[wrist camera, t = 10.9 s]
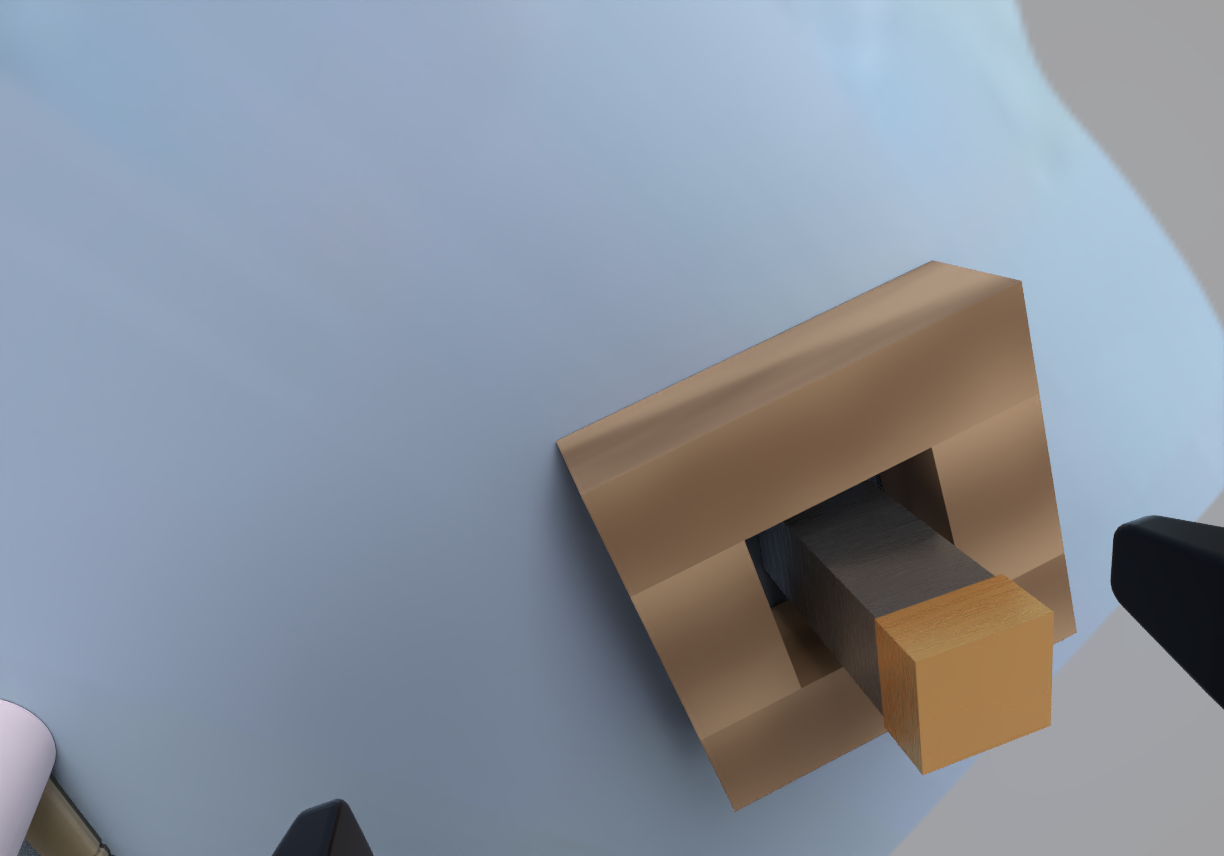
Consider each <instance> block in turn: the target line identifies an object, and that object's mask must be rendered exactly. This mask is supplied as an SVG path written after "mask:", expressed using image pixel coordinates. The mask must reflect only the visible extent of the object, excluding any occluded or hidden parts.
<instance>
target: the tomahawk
mask: <svg viewBox="0 0 1224 856" xmlns="http://www.w3.org/2000/svg"><path fill="white" fill-rule="evenodd" d="M25 839H26V840H27V841H28V842H29V844H30V845H31V846H32V847H33V848H34V849H35V850H36V851H37V852H38V853H39V855H40V856H114V855H111V854H110V850H109V848H108V847H107V846H106V844H102V843H101V838H100V837H99V836H98V834H97V833H96V832H95V831H94V829H93V828H92V827H91V825H90V824H89V823H88V821H87V820H86V819H85V818H84V816H83V815H82V814H81V812H80V811H79V810H78V808H77V807H76V806H75V805H74V803H73V802H72V801H71V799H70V798H69V797H68V795H67V794H66V793H65V792H64V790H63V789H62V788H61V786H60V785H59V784H58V782H57V781H56V780H55V779H54V777H53V776H52V775H51V773H50V776H49V778H48V781H47V783H46V786H45V788H44V791H43V793H42V796H41V798H40V801H39V803H38V806H37V808H36V811H35V813H34V816H33V818H32V821H31V823H30V826H29V828H28V831H27V833H26V836H25Z"/></svg>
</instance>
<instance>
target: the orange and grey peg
mask: <svg viewBox="0 0 1224 856" xmlns="http://www.w3.org/2000/svg"><path fill="white" fill-rule="evenodd" d="M758 535H759V541H760V547H761V554H762V560H763V566H764V569H765V570H766V572H767V573H768V574H769V575H770V577H771V578H772V579H773V580H774V582H775V583H776V584H777V585H778V587H779V588H780V589H781V590H782V591H783V593H784V594H785V595H786V596H787V598H788V599H789V600H790V601H791V603H792V604H793V605H794V606H795V608H796V609H797V610H798V611H799V613H800V614H801V615H802V616H803V618H804V619H805V620H806V621H807V623H808V624H809V625H810V626H811V627H812V629H813V630H814V631H815V632H816V634H817V635H818V636H819V637H820V639H821V640H822V641H823V642H824V644H825V645H826V646H827V647H828V649H829V650H830V651H831V652H832V654H833V655H834V656H835V657H836V658H837V660H838V661H839V662H840V663H841V665H842V666H843V667H844V668H845V670H846V671H847V672H848V673H849V675H850V676H851V677H852V678H853V680H854V681H855V682H856V683H857V685H858V686H859V687H860V688H861V689H862V691H863V692H864V693H865V694H866V696H867V697H868V698H869V699H870V701H871V702H872V703H873V704H874V706H875V707H876V708H877V709H878V711H879V712H880V713H881V714H882V716H883V721H884V727H885V728H886V729H887V731H888V732H889V733H890V734H891V736H892V737H893V738H894V740H895V741H896V742H897V743H898V745H899V746H900V747H901V748H902V750H903V751H904V752H905V753H906V755H907V756H908V757H909V758H910V760H911V761H912V762H913V763H914V765H915V766H916V767H917V768H918V770H919V771H920V772H921V774H922V775H924V774H927V773H930V772H932V771H935V770H937V769H940V768H942V767H945V766H948V765H950V764H953V763H955V762H958V761H961V760H963V759H966V758H968V757H971V756H974V755H976V754H979V753H981V752H984V751H986V750H989V749H992V748H994V747H997V746H999V745H1002V744H1005V743H1007V742H1010V741H1012V740H1015V739H1017V738H1020V737H1022V736H1025V735H1028V734H1030V733H1033V732H1036V731H1038V730H1041V729H1043V728H1046V727H1048V726H1050V724H1051V723H1050V721H1051V688H1052V655H1053V621H1054V612H1053V611H1052V610H1051V609H1049V608H1048V607H1047V606H1045V605H1044V604H1043V603H1041V602H1040V601H1038V600H1037V599H1036V598H1034V597H1033V596H1032V595H1030V594H1029V593H1028V592H1026V591H1025V590H1024V589H1022V588H1021V587H1020V586H1018V585H1017V584H1015V583H1014V582H1013V581H1011V580H1010V579H1009V578H1007V577H1006V576H1005V575H1003V574H1001V575H998V576H994V575H993V574H991V573H990V572H989V571H988V570H986V569H985V568H984V567H982V566H981V565H980V564H978V563H977V562H976V561H974V560H973V559H972V558H970V557H969V556H968V555H966V554H965V553H964V552H962V551H961V550H960V549H958V548H957V547H956V546H954V545H953V544H952V543H950V542H949V541H948V540H946V539H945V538H944V537H942V536H941V535H940V534H938V533H937V532H936V531H934V530H933V529H932V528H930V527H929V526H928V525H927V524H925V523H924V522H923V521H921V520H920V519H919V518H917V517H916V516H915V515H913V514H912V513H911V512H909V511H908V510H907V509H905V508H904V507H903V506H901V505H900V504H899V503H897V502H896V501H895V500H893V499H892V498H891V497H889V496H888V495H887V494H885V493H884V492H883V491H881V490H880V489H879V488H877V487H876V486H875V485H873V484H872V483H871V482H869V481H868V480H865V481H863V482H861V483H859V484H857V485H855V486H853V487H851V488H849V489H847V490H845V491H843V492H841V493H839V494H837V495H835V496H833V497H831V498H829V499H827V500H825V501H823V502H821V503H819V504H817V505H815V506H813V507H811V508H809V509H807V510H805V511H803V512H801V513H799V514H797V515H795V516H793V517H791V518H788V519H786V520H784V521H782V522H780V523H778V524H776V525H774V526H772V527H770V528H768V529H766V530H764V531H762V532H760V533H758Z"/></svg>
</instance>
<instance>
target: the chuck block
mask: <svg viewBox="0 0 1224 856" xmlns="http://www.w3.org/2000/svg"><path fill="white" fill-rule="evenodd" d="M556 442H557V444H558V447H559V449H560V451H561V453H562V455H563V458H564V460H565V462H566V464H567V466H568V469H569V471H570V473H571V475H572V477H573V480H574V482H575V484H576V486H577V488H578V491H579V493H580V495H581V497H582V499H583V501H584V503H585V505H586V507H587V509H588V512H589V514H590V516H591V518H592V520H593V522H594V524H595V526H596V528H597V530H598V532H599V534H600V536H601V538H602V540H603V542H604V544H605V546H606V548H607V550H608V553H609V555H610V557H611V559H612V561H613V563H614V565H615V567H616V569H617V571H618V573H619V575H620V577H621V579H622V581H623V583H624V585H625V587H626V589H627V591H628V594H629V596H630V598H631V600H632V602H633V604H634V606H635V608H636V610H637V612H638V614H639V616H640V618H641V620H642V622H643V624H644V626H645V628H646V630H647V632H648V635H649V637H650V639H651V641H652V643H653V645H654V647H655V649H656V651H657V653H658V655H659V657H660V659H661V661H662V663H663V665H664V667H665V669H666V671H667V674H668V676H669V678H670V680H671V682H672V684H673V686H674V688H675V690H676V692H677V694H678V696H679V698H680V700H681V702H682V704H683V706H684V708H685V710H686V712H687V715H688V717H689V719H690V721H691V723H692V725H693V727H694V729H695V731H696V733H697V735H698V737H699V739H700V741H701V743H702V745H703V747H704V749H705V751H706V753H707V756H708V758H709V760H710V762H711V764H712V766H713V768H714V770H715V772H716V774H717V776H718V778H719V780H720V782H721V784H722V786H723V788H724V790H725V792H726V794H727V797H728V799H729V801H730V803H731V805H732V807H733V809H734V811H737V810H739V809H741V808H743V807H745V806H747V805H749V804H750V803H752V802H754V801H756V800H758V799H760V798H762V797H764V796H766V795H768V794H770V793H771V792H773V791H775V790H777V789H779V788H781V787H783V786H785V785H787V784H789V783H791V782H792V781H794V780H796V779H798V778H800V777H802V776H804V775H806V774H808V773H810V772H812V771H813V770H815V769H817V768H819V767H821V766H823V765H825V764H827V763H829V762H831V761H832V760H834V759H836V758H838V757H840V756H842V755H844V754H846V753H848V752H850V751H852V750H853V749H855V748H857V747H859V746H861V745H863V744H865V743H867V742H869V741H871V740H873V739H874V738H876V737H878V736H880V735H882V734H884V733H886V732H888V731H887V729H886V728H885V727H884V721H883V716H882V714H881V713H880V712H879V711H878V709H877V708H876V707H875V706H874V704H873V703H872V702H871V701H870V699H869V698H868V697H867V696H866V694H865V693H864V692H863V691H862V689H861V688H860V687H859V686H858V685H857V683H856V682H855V681H854V680H853V678H852V677H851V676H850V675H849V673H848V672H847V671H846V670H845V668H844V667H843V666H842V665H841V663H840V662H839V661H838V660H837V658H836V657H835V656H834V655H833V654H832V652H831V651H830V650H829V649H828V647H827V646H826V645H825V644H824V642H823V641H822V640H821V639H820V637H819V636H818V635H817V634H816V632H815V631H814V630H813V629H812V627H811V626H810V625H809V624H808V623H807V621H806V620H805V619H804V618H803V616H802V615H801V614H800V613H799V611H798V610H797V609H796V608H795V606H794V605H793V604H792V603H791V601H790V600H789V599H788V600H786V601H784V602H782V603H780V604H778V605H776V606H774V607H772V608H770V606H769V603H768V600H767V598H766V595H765V593H764V590H763V587H762V585H761V582H760V580H759V577H758V575H757V572H756V569H755V567H754V564H753V562H752V559H751V556H750V554H749V551H748V549H747V546H746V543H745V541H744V540H746V539H748V538H750V537H752V536H754V535H756V534H758V533H760V532H762V531H764V530H766V529H768V528H770V527H772V526H774V525H776V524H778V523H780V522H782V521H784V520H786V519H788V518H791V517H793V516H795V515H797V514H799V513H801V512H803V511H805V510H807V509H809V508H811V507H813V506H815V505H817V504H819V503H821V502H823V501H825V500H827V499H829V498H831V497H833V496H835V495H837V494H839V493H841V492H843V491H845V490H847V489H849V488H851V487H853V486H855V485H857V484H859V483H861V482H863V481H865V480H867V479H869V478H871V477H873V476H875V475H877V474H879V475H880V479H881V483H882V486H883V490H884V493H885V494H887V495H888V496H889V497H891V498H892V499H893V500H895V501H896V502H897V503H899V504H900V505H901V506H903V507H904V508H905V509H907V510H908V511H909V512H911V513H912V514H913V515H915V516H916V517H917V518H919V519H920V520H921V521H923V522H924V523H925V524H927V525H928V526H929V527H930V528H932V529H933V530H934V531H936V532H937V533H938V534H940V535H941V536H942V537H944V538H945V539H946V540H948V541H949V542H950V543H952V544H953V545H954V546H956V547H957V548H958V549H960V550H961V551H962V552H964V553H965V554H966V555H968V556H969V557H970V558H972V559H973V560H974V561H976V562H977V563H978V564H980V565H981V566H982V567H984V568H985V569H986V570H988V571H989V572H990V573H991V574H993V575H994V576H998V575H1001V574H1003V575H1005V576H1006V577H1007V578H1009V579H1010V580H1011V581H1013V582H1014V583H1015V584H1017V585H1018V586H1020V587H1021V588H1022V589H1024V590H1025V591H1026V592H1028V593H1029V594H1030V595H1032V596H1033V597H1034V598H1036V599H1037V600H1038V601H1040V602H1041V603H1043V604H1044V605H1045V606H1047V607H1048V608H1049V609H1051V610H1052V611H1053V612H1054V621H1053V645H1054V644H1056V643H1058V642H1059V641H1061V640H1063V639H1065V638H1067V637H1069V636H1071V635H1073V634H1075V633H1077V631H1076V624H1075V618H1074V612H1073V605H1072V599H1071V593H1070V586H1069V580H1068V574H1067V567H1066V561H1065V555H1064V548H1063V542H1062V535H1061V529H1060V523H1059V516H1058V510H1057V504H1056V497H1055V491H1054V485H1053V478H1052V472H1051V466H1050V459H1049V453H1048V447H1047V440H1046V434H1045V428H1044V421H1043V415H1042V408H1041V402H1040V396H1039V389H1038V383H1037V377H1036V370H1035V364H1034V358H1033V351H1032V345H1031V339H1030V332H1029V326H1028V320H1027V313H1026V307H1025V300H1024V294H1023V288H1022V281H1020V280H1015V279H1011V278H1006V277H1002V276H998V275H993V274H989V273H985V272H980V271H976V270H972V269H967V268H963V267H959V266H954V265H950V264H945V263H941V262H937V261H931V262H929V263H926V264H924V265H922V266H920V267H918V268H916V269H914V270H912V271H910V272H908V273H906V274H903V275H901V276H899V277H897V278H895V279H893V280H891V281H889V282H887V283H885V284H883V285H881V286H878V287H876V288H874V289H872V290H870V291H868V292H866V293H864V294H862V295H860V296H858V297H856V298H853V299H851V300H849V301H847V302H845V303H843V304H841V305H839V306H837V307H835V308H833V309H831V310H828V311H826V312H824V313H822V314H820V315H818V316H816V317H814V318H812V319H810V320H808V321H805V322H803V323H801V324H799V325H797V326H795V327H793V328H791V329H789V330H787V331H785V332H783V333H780V334H778V335H776V336H774V337H772V338H770V339H768V340H766V341H764V342H762V343H760V344H758V345H755V346H753V347H751V348H749V349H747V350H745V351H743V352H741V353H739V354H737V355H735V356H732V357H730V358H728V359H726V360H724V361H722V362H720V363H718V364H716V365H714V366H712V367H710V368H707V369H705V370H703V371H701V372H699V373H697V374H695V375H693V376H691V377H689V378H687V379H685V380H682V381H680V382H678V383H676V384H674V385H672V386H670V387H668V388H666V389H664V390H662V391H660V392H657V393H655V394H653V395H651V396H649V397H647V398H645V399H643V400H641V401H639V402H637V403H634V404H632V405H630V406H628V407H626V408H624V409H622V410H620V411H618V412H616V413H614V414H612V415H609V416H607V417H605V418H603V419H601V420H599V421H597V422H595V423H593V424H591V425H589V426H587V427H584V428H582V429H580V430H578V431H576V432H574V433H572V434H570V435H568V436H566V437H564V438H562V439H559V440H557V441H556Z"/></svg>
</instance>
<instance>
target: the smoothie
mask: <svg viewBox="0 0 1224 856" xmlns="http://www.w3.org/2000/svg"><path fill="white" fill-rule="evenodd" d="M55 758H56V748H55V743H54V740H53V737H52V735H51V733H50V731H49V730H48V728H47V727H46V726H45V725H44V723H43V722H42V721H41V720H40V719H38V718H37V717H36V716H35V715H33V714H32V713H31V712H29V711H27V710H26V709H24V708H22V707H20V706H18V705H15V704H13V703H10V702H7V701H4V700H0V856H18V853H19V851H20V848H21V846H22V843H23V841H24V838H25V836H26V833H27V831H28V828H29V826H30V823H31V821H32V818H33V816H34V813H35V811H36V808H37V806H38V803H39V801H40V798H41V796H42V793H43V791H44V788H45V786H46V783H47V781H48V778H49V776H50V773H51V771H52V768H53V766H54V763H55Z"/></svg>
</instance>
